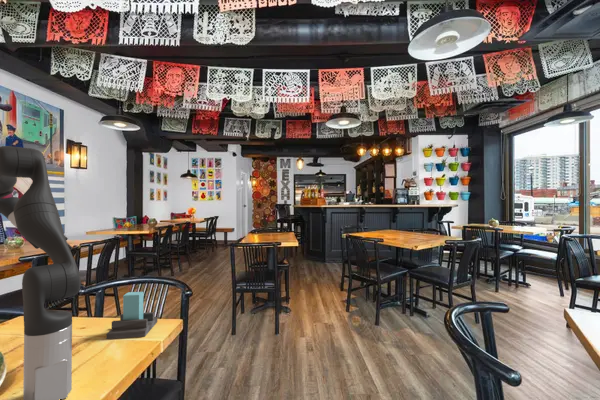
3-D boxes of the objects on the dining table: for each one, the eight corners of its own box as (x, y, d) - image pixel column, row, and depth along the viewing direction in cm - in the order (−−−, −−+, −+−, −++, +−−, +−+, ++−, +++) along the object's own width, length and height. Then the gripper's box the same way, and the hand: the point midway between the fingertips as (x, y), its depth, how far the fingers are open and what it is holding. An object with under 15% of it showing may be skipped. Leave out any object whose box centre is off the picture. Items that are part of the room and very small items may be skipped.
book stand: (145, 336, 105) (145, 322, 105) (106, 338, 103) (106, 325, 103) (157, 321, 118) (157, 309, 118) (123, 323, 116) (123, 311, 116)
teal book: (138, 326, 109) (139, 294, 109) (122, 327, 108) (122, 295, 108) (143, 322, 112) (143, 291, 113) (127, 323, 112) (127, 292, 112)
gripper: (21, 215, 99) (57, 247, 100) (50, 213, 113) (82, 242, 115) (3, 230, 98) (40, 263, 100) (35, 227, 112) (67, 255, 114)
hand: (62, 251), depth 107 cm, fingers open, 8 cm apart
